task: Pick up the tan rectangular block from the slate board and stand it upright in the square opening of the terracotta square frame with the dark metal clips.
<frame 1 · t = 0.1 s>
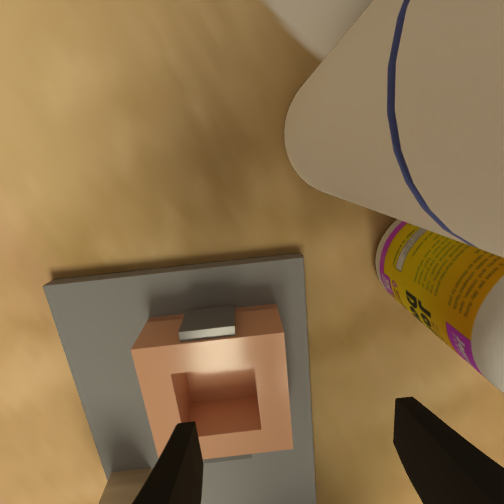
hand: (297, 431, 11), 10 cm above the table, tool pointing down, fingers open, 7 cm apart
supplement bottle: (419, 253, 20), on the table
terracotta square frame: (221, 364, 20), resting on slate board
slate board: (202, 403, 22), on the table
cylindrical container: (344, 132, 17), on the table
tan rectangular block: (135, 484, 23), point 1 cm above the table, touching slate board
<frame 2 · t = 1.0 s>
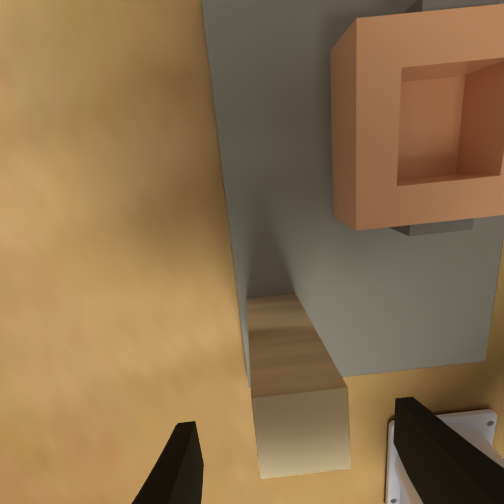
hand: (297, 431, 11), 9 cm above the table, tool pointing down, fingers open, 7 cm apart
terracotta square frame: (409, 132, 16), resting on slate board
slate board: (363, 209, 18), on the table
tan rectangular block: (273, 318, 18), point 1 cm above the table, tilted 6°, touching slate board
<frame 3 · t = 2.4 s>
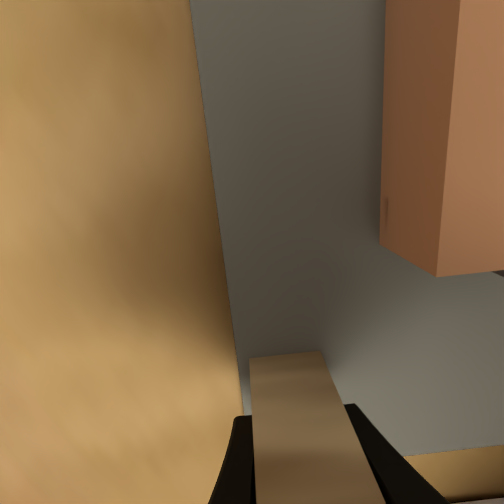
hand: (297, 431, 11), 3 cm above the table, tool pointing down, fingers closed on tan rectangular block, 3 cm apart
terracotta square frame: (501, 115, 10), resting on slate board
slate board: (419, 229, 12), on the table
tan rectangular block: (286, 383, 13), point 1 cm above the table, touching gripper, slate board
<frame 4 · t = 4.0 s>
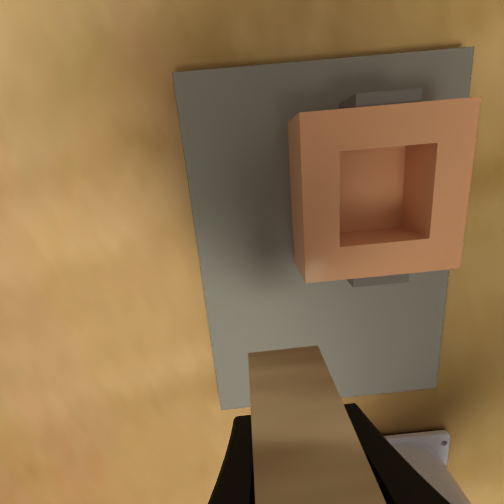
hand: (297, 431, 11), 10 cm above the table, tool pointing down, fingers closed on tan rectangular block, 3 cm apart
terracotta square frame: (359, 190, 18), resting on slate board
slate board: (322, 253, 20), on the table
tan rectangular block: (285, 378, 13), point 8 cm above the table, touching gripper
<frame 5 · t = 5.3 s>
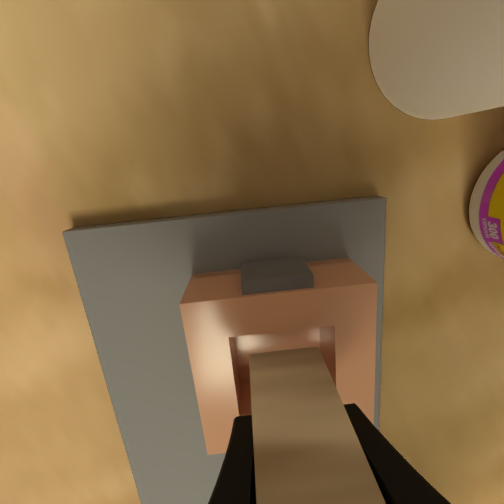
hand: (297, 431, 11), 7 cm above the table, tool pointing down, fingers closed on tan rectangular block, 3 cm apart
terracotta square frame: (276, 334, 17), resting on slate board
slate board: (247, 384, 19), on the table
cylindrical container: (442, 37, 14), on the table
tan rectangular block: (285, 379, 13), point 5 cm above the table, touching gripper
when the fingers open (5 cm above the table, at t = 6.1 s): tan rectangular block stays where it is, resting on terracotta square frame.
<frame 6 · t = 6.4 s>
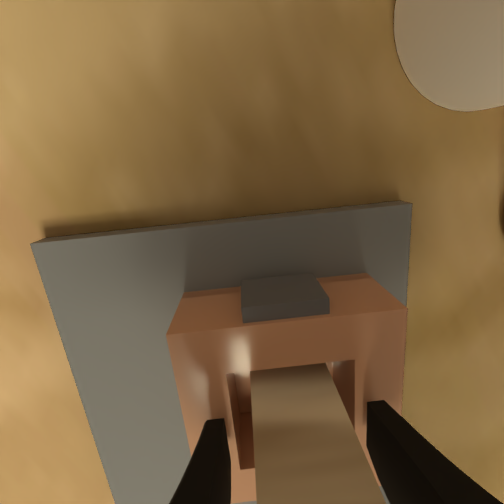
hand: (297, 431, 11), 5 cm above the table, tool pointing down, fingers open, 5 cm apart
terracotta square frame: (281, 360, 14), resting on slate board
slate board: (248, 413, 17), on the table
cylindrical container: (481, 12, 12), on the table
tan rectangular block: (283, 368, 14), point 2 cm above the table, touching terracotta square frame
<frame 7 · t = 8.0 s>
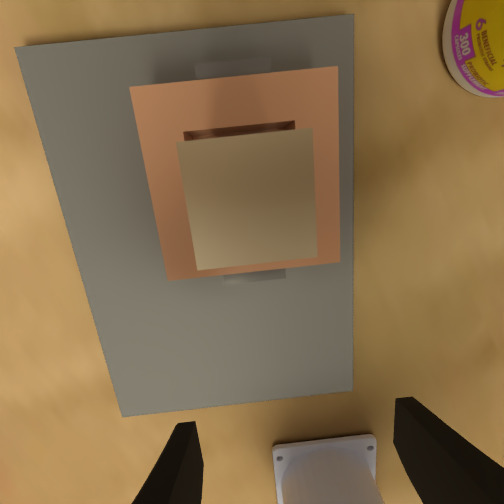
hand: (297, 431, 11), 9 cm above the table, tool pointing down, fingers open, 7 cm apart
supplement bottle: (495, 32, 16), on the table
terracotta square frame: (243, 178, 16), resting on slate board
slate board: (217, 247, 18), on the table
tan rectangular block: (244, 179, 16), point 2 cm above the table, touching terracotta square frame
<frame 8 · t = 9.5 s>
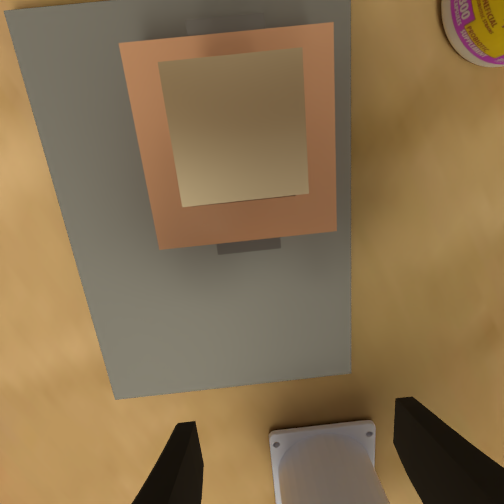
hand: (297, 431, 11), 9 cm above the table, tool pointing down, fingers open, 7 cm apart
supplement bottle: (496, 0, 15), on the table
terracotta square frame: (238, 149, 16), resting on slate board
slate board: (212, 223, 18), on the table
tan rectangular block: (238, 149, 15), point 2 cm above the table, touching terracotta square frame
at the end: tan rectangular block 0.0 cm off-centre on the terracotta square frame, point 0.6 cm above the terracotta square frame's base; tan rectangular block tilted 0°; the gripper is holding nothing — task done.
